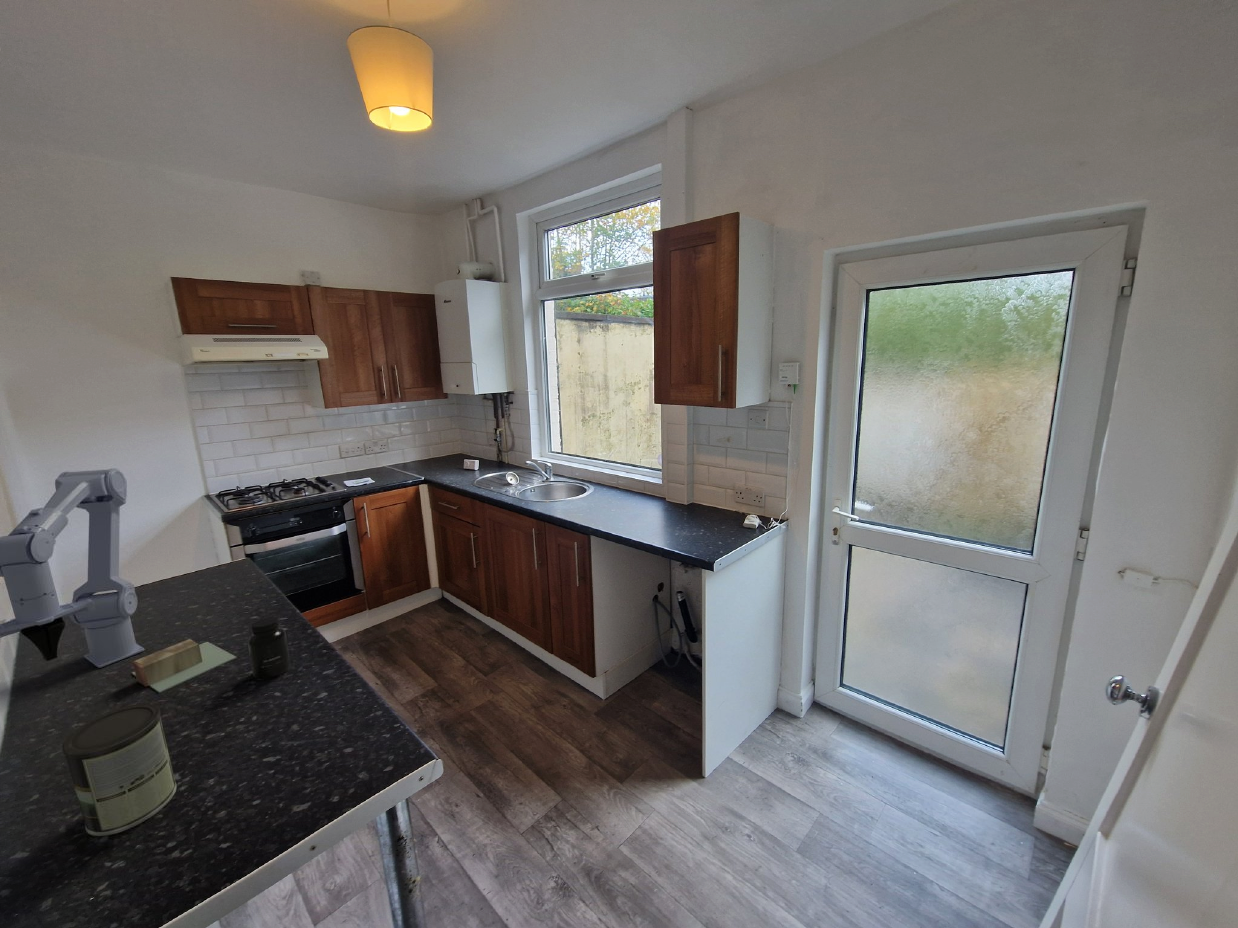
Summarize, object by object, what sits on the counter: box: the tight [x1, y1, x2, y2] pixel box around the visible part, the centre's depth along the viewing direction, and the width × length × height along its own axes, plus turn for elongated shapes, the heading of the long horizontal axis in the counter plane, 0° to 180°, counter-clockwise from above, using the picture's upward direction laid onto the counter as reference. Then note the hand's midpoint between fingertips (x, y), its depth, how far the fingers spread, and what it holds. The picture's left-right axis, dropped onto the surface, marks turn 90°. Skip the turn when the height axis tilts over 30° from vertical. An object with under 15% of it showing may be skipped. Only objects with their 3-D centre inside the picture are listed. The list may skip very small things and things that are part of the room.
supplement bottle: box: [247, 616, 291, 681], centre depth 109 cm, size 7×7×12 cm
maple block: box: [132, 638, 202, 687], centre depth 110 cm, size 4×4×10 cm
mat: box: [131, 641, 237, 694], centre depth 112 cm, size 14×14×1 cm
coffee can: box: [61, 703, 178, 837], centre depth 75 cm, size 10×10×14 cm
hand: (50, 657), depth 98 cm, fingers closed
